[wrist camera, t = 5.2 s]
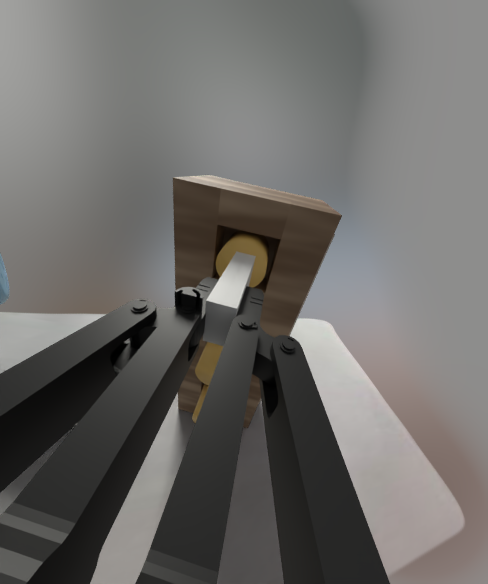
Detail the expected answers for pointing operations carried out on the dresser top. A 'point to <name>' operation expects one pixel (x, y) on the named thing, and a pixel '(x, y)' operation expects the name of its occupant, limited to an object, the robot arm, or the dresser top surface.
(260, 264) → the button top
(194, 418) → the button low
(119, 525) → the dresser top surface
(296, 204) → the button column
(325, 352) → the dresser top surface
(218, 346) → the button mid
